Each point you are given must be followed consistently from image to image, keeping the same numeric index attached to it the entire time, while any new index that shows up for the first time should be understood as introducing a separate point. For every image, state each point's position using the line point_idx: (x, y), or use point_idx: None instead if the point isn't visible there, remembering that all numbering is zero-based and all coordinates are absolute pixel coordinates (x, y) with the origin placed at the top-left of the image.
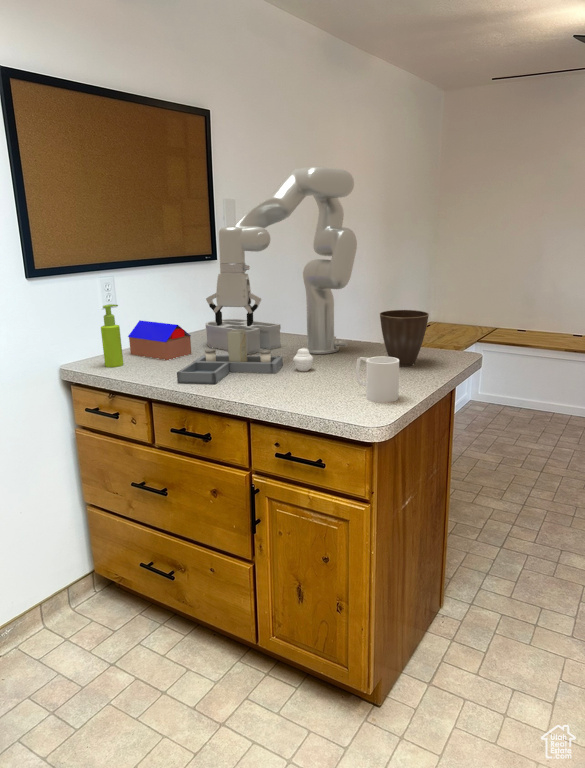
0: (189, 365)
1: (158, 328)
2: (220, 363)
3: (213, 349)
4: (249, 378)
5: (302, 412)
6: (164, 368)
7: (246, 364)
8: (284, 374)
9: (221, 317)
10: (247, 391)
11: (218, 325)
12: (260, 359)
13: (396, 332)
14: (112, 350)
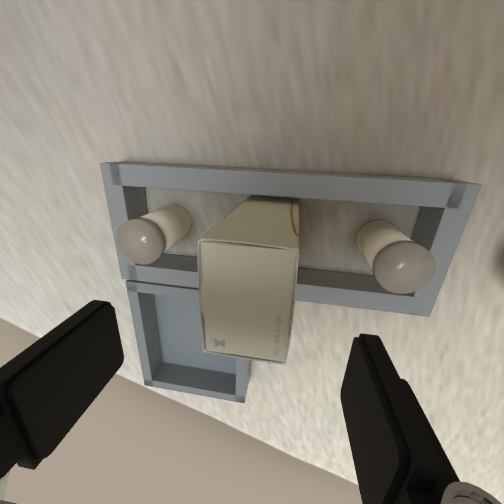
0: (139, 326)
1: None
2: None
3: (151, 243)
4: (328, 339)
5: None
6: (41, 228)
7: (312, 299)
8: (444, 306)
9: (71, 354)
10: (337, 428)
11: (120, 359)
12: (366, 257)
13: None
14: None
